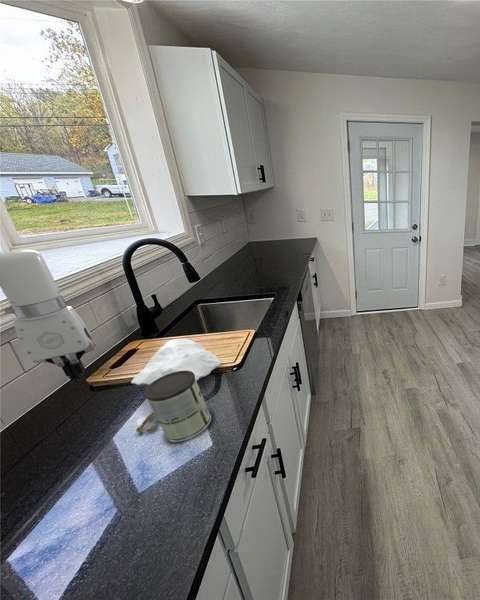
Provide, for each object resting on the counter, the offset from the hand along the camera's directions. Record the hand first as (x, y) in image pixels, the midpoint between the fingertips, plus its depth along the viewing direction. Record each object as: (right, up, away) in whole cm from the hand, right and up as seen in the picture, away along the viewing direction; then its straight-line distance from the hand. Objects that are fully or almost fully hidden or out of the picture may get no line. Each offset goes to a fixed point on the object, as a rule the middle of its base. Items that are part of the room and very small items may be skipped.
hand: (78, 376), depth 76 cm
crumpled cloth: (+5, -7, +28) cm, 29 cm away
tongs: (+11, -14, +11) cm, 20 cm away
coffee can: (+23, -15, +6) cm, 28 cm away
